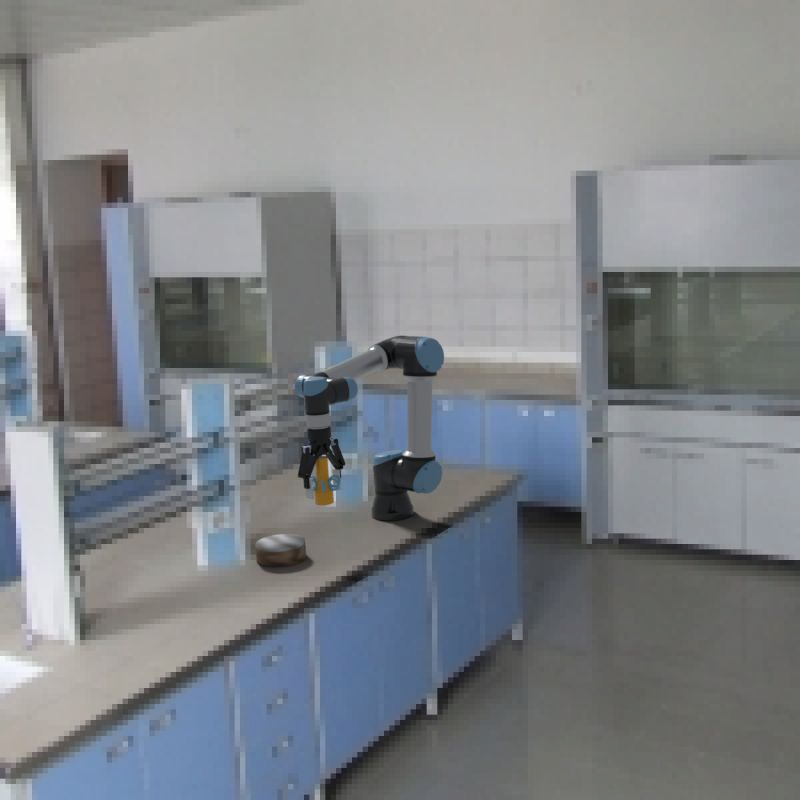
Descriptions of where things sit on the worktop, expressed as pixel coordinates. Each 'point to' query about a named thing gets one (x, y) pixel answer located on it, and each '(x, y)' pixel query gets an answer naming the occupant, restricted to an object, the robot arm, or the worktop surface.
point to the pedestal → (280, 550)
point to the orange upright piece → (324, 482)
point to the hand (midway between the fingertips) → (323, 493)
